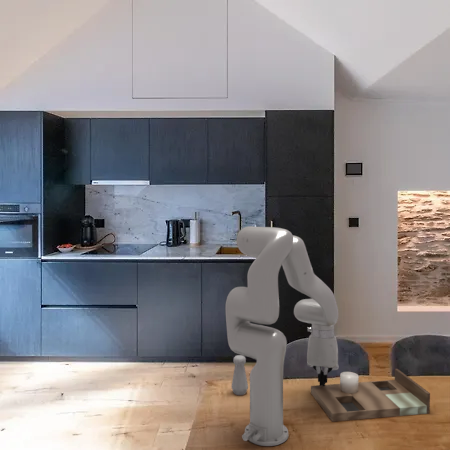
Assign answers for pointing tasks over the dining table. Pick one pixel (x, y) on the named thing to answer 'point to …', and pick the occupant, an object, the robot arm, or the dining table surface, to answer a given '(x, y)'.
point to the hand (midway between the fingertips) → (322, 384)
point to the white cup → (349, 382)
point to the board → (373, 399)
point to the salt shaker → (239, 376)
